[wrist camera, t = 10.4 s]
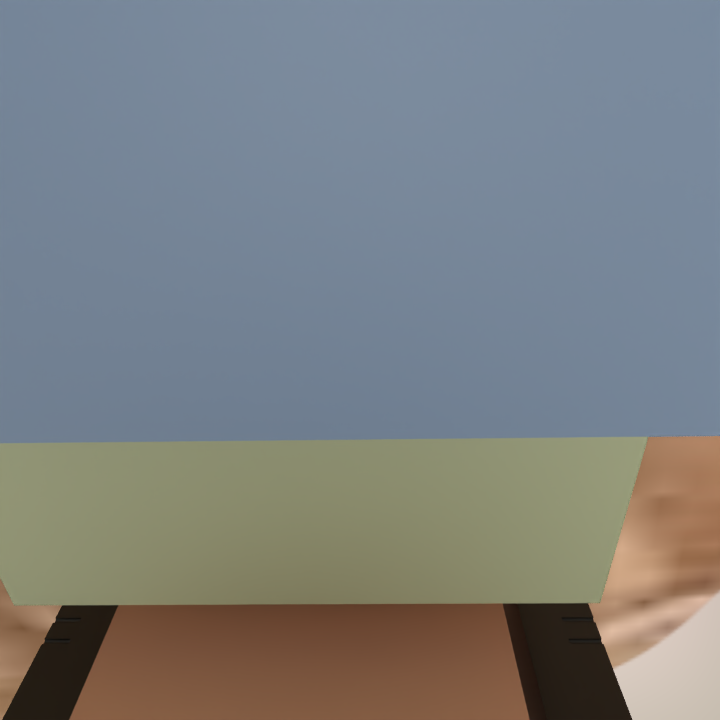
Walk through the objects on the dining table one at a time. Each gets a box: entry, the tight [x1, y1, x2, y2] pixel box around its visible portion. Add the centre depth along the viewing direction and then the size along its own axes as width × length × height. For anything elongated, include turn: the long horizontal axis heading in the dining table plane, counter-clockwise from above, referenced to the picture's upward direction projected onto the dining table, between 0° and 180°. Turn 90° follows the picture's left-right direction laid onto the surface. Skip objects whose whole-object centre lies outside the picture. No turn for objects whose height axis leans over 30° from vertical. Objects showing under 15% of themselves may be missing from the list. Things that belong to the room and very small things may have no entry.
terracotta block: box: [69, 603, 529, 720], centre depth 12 cm, size 6×4×12 cm, turn 91°
